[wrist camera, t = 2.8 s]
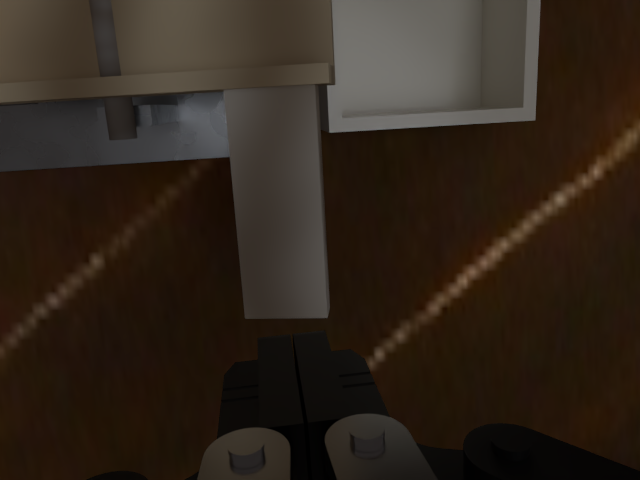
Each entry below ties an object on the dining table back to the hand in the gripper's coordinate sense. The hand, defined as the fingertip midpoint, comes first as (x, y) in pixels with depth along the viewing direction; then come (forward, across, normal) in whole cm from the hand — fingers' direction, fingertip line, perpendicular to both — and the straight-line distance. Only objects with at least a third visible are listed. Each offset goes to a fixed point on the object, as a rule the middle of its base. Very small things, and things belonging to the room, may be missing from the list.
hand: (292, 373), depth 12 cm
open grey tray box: (+19, -8, -9) cm, 22 cm away
